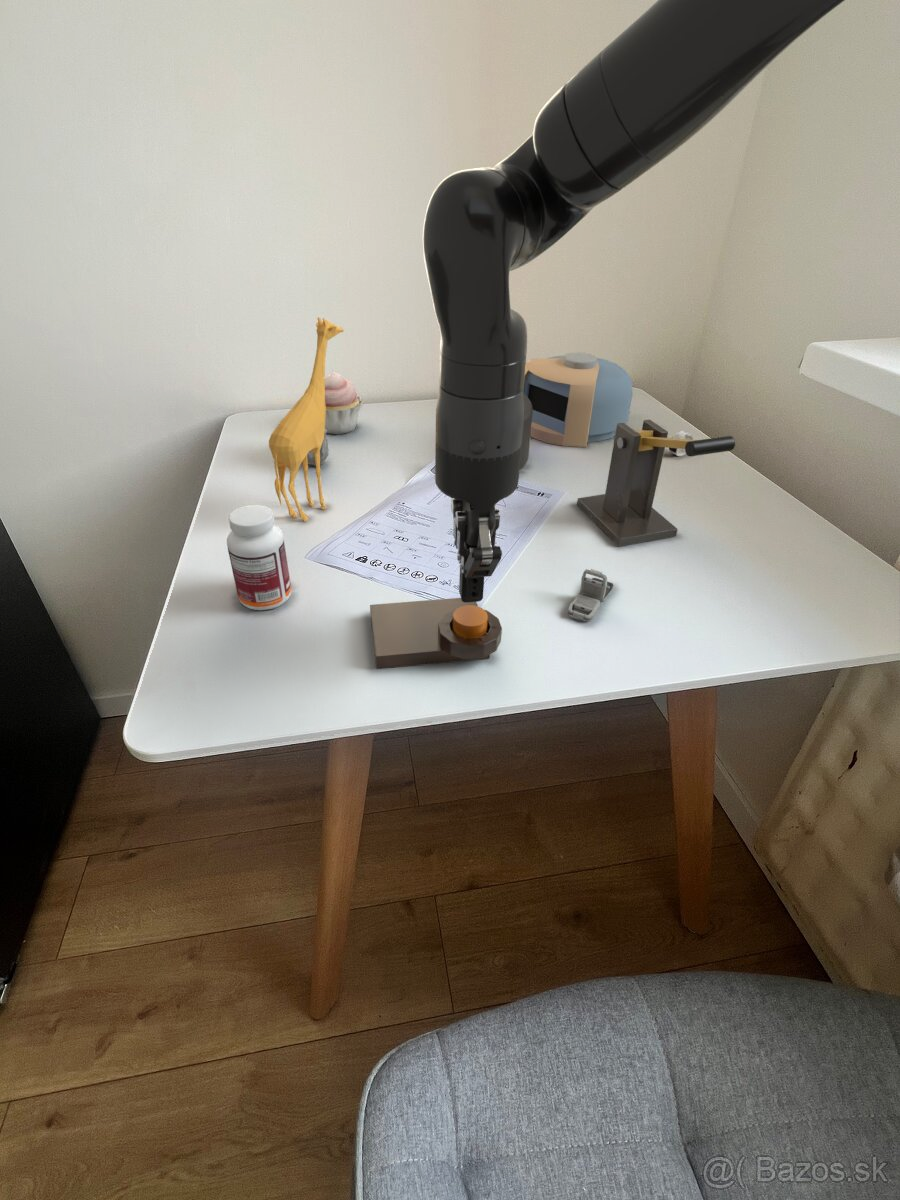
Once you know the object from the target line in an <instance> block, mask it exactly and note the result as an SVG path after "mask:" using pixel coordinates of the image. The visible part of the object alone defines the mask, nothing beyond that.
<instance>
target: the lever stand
mask: <svg viewBox="0 0 900 1200" xmlns="http://www.w3.org/2000/svg"><path fill="white" fill-rule="evenodd" d="M641 430H650V431H653V437H661V438H668V435H669V431H667V429H665V428H663V427H662V426H661V425H659V424H657V423H656V422H654V421H653V420H652V419H644V420H643V421H642V427H641ZM636 431H637V430H635V429H634V428H632V427H630V426H629V425H627V423H626V424H625V423H617V427H616V433H615V436H614V440H613V445H612V452H611V458H610V464H609V469H608V474H607V475H608V476H607V481H606V487H605V493H603V494H596V495H589V496H584V497H577V501H576V506H577V507H578V508H579V509H580V510H581V511H582V512H583V513H584V514H585V515H586V516H587V517H588V518H589V519H590V520H591V521H592V522H593V523H594V525H595V526H597V527H598V528H599V529H600V530H601V532H602V533H604V534H605V535H606V536H607V537H608V539H610V540H611V541H612V542H613V543H614V544H615V545H616V546H617V547H624V546H629V545H635V544H641V543H647V542H652V541H658V540H664V539H668V538H674V537H677V534H678V530H679V529H678V528H677V527H676V526H675V525H674V524H673V523H671V521H669V520H668V519H667V518H665V517H664V516H663V515H662V514H660V513H659V512H658V511H657V510H656V509H655V508H654V507H653V505H654V500H655V495H656V491H657V486H658V481H659V476H660V472H661V468H662V464H663V463H662V462H663V459H664V454H665V449H666V447H655V446H653V450H645V451H638V450H639V444H640V439H641V435H640V434H639V433H637V432H636Z"/></svg>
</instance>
